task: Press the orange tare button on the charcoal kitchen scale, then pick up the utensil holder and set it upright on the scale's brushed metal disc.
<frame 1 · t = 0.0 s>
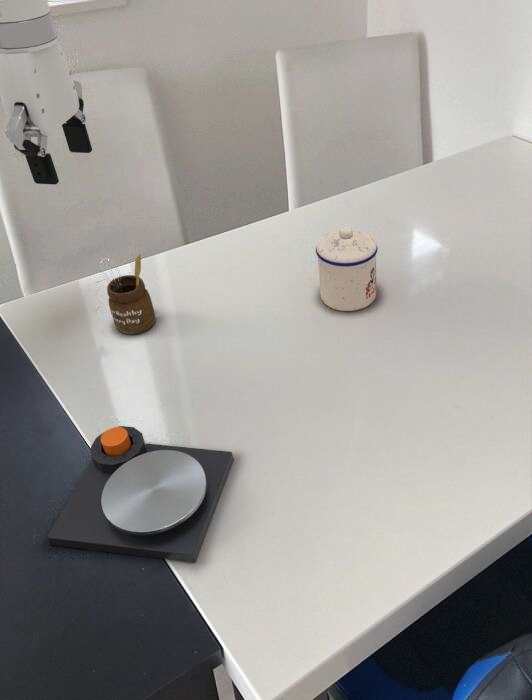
hand: (65, 166, 92), 22 cm above the table, tool pointing down, fingers open, 9 cm apart
scale: (147, 500, 76), on the table
brushed metal disc: (155, 492, 73), resting on scale
tare button: (115, 441, 78), point 4 cm above the table, slide at 0.1 cm
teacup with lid: (348, 291, 106), on the table
utensil holder: (137, 324, 101), on the table
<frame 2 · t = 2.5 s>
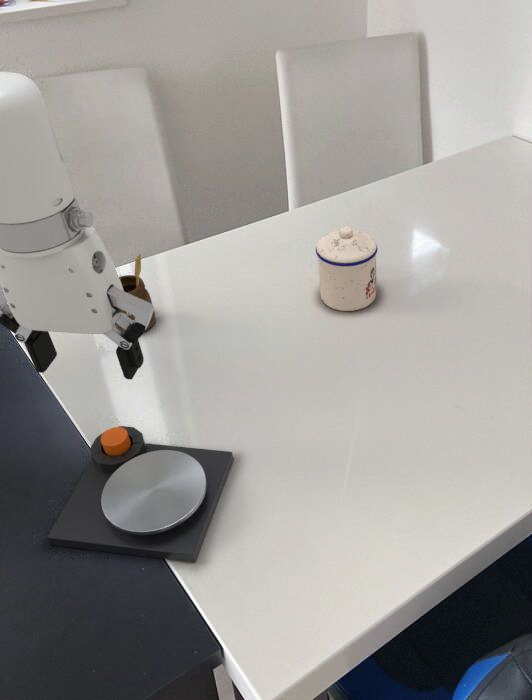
hand: (90, 367, 71), 15 cm above the table, tool pointing down, fingers open, 9 cm apart
nothing on the table moved.
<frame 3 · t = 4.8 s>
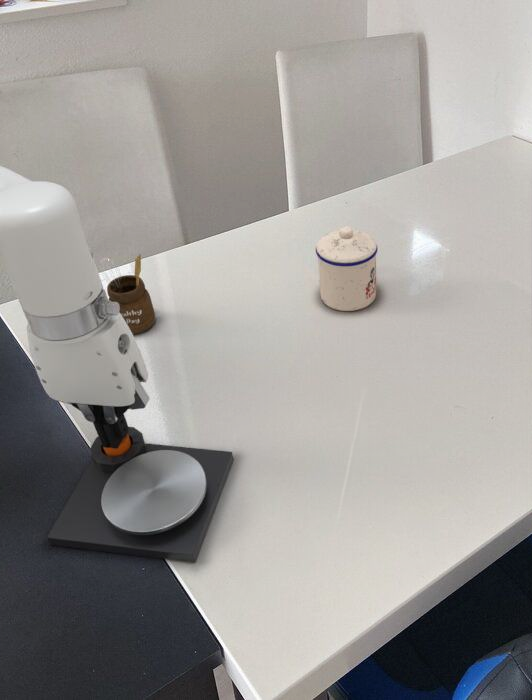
hand: (116, 438, 78), 4 cm above the table, tool pointing down, fingers closed
tare button: (116, 443, 78), point 3 cm above the table, slide at -0.2 cm, touching gripper
everything else where it was.
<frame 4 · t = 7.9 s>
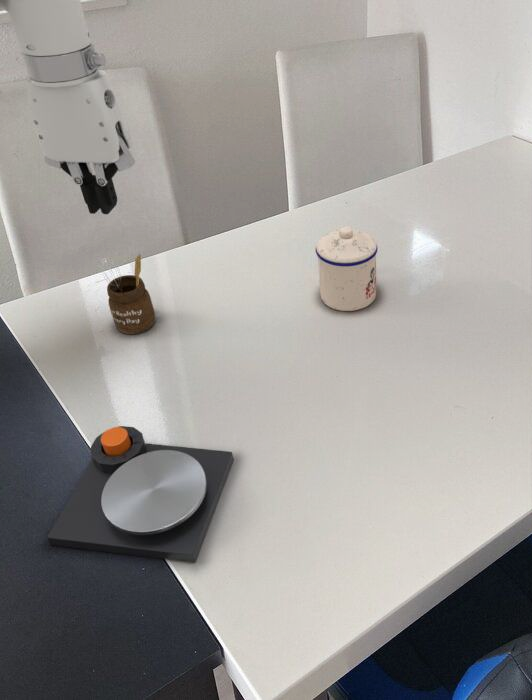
hand: (103, 208, 89), 19 cm above the table, tool pointing down, fingers closed
tare button: (115, 441, 78), point 3 cm above the table, slide at 0.1 cm
everything else where it was.
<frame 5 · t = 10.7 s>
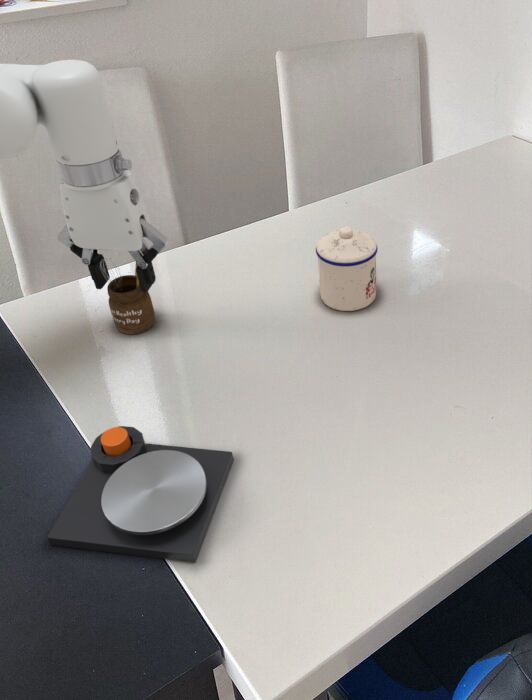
hand: (125, 284, 97), 7 cm above the table, tool pointing down, fingers closed on utensil holder, 6 cm apart
utensil holder: (137, 324, 101), on the table, touching gripper
everything else where it was.
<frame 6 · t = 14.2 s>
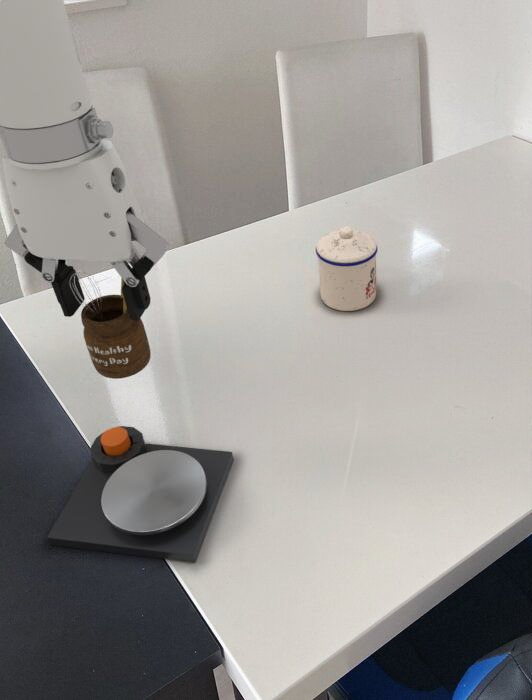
hand: (107, 309, 67), 22 cm above the table, tool pointing down, fingers closed on utensil holder, 6 cm apart
utensil holder: (125, 363, 72), point 15 cm above the table, touching gripper
everything else where it was.
when the fingers open (11 cm above the table, at t = 17.9 s): utensil holder stays where it is, resting on brushed metal disc.
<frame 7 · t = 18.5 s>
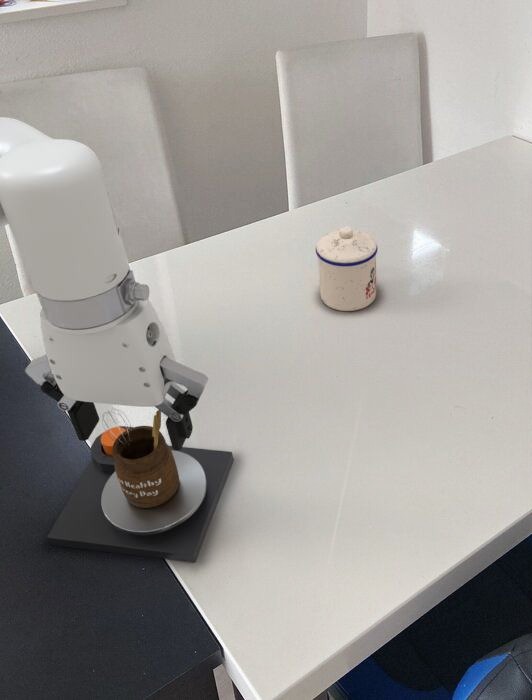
hand: (135, 435, 67), 12 cm above the table, tool pointing down, fingers open, 9 cm apart
utensil holder: (154, 488, 73), point 3 cm above the table, touching brushed metal disc
everything else where it was.
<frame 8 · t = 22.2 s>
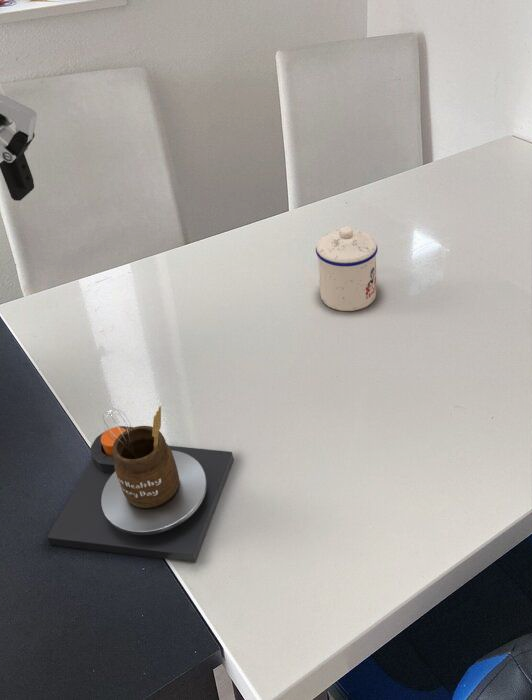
nothing on the table moved.
at the end: tare button pushed in 0.9 cm at the most during the clip, back to where it started at the end; utensil holder inside the target area on the scale (0.1 cm from its centre), point 3.4 cm above the scale's base; utensil holder tilted 0° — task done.
